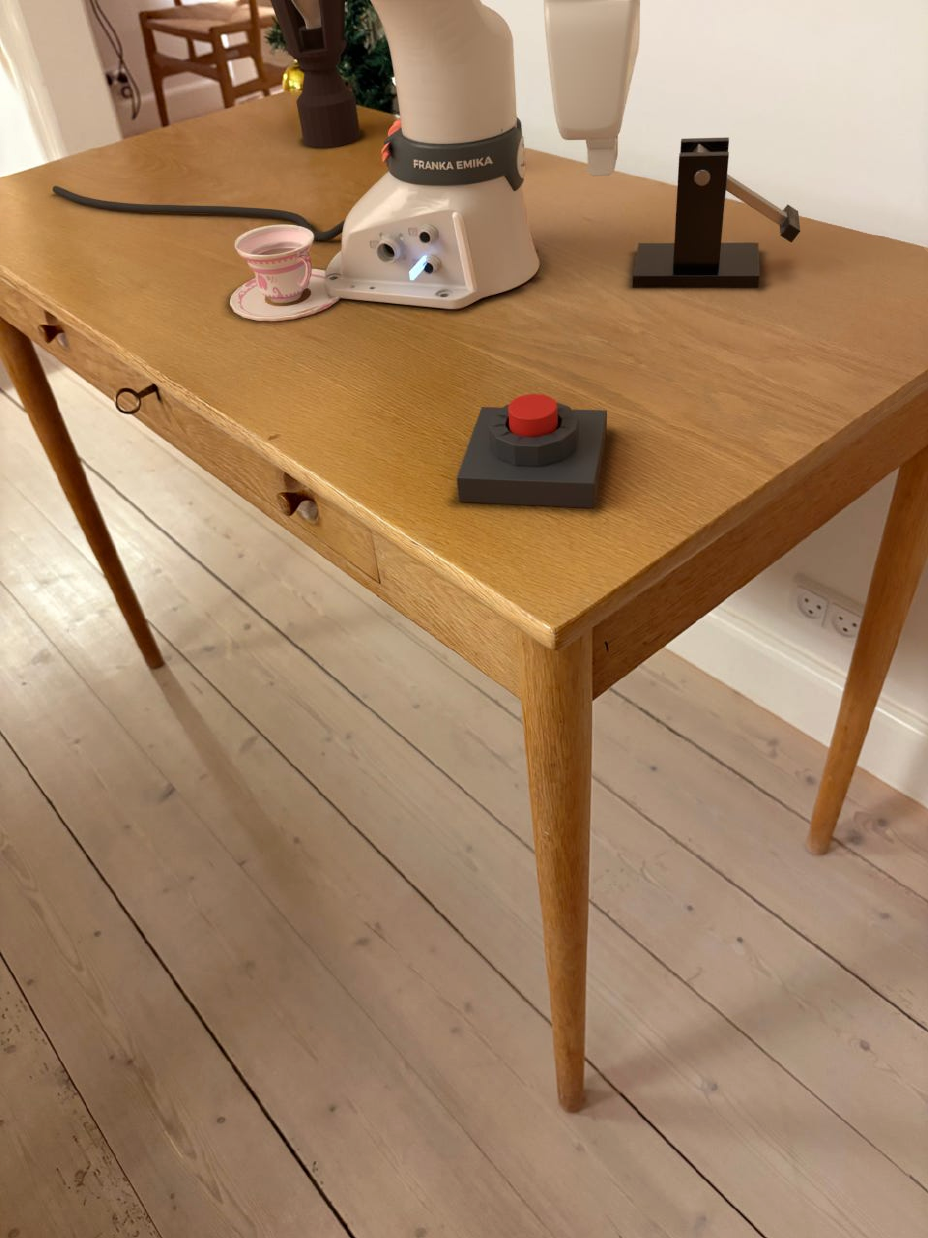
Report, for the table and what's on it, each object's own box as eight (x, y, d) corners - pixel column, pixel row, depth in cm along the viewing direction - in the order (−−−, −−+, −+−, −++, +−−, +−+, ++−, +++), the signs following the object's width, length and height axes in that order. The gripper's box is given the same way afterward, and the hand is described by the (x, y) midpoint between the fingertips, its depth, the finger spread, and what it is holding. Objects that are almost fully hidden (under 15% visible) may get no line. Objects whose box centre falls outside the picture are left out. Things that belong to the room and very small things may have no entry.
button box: (459, 502, 75) (454, 456, 72) (483, 430, 82) (479, 386, 79) (594, 508, 73) (594, 461, 70) (607, 434, 80) (607, 389, 77)
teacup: (207, 306, 105) (191, 248, 101) (292, 265, 111) (281, 208, 107) (283, 334, 99) (270, 273, 95) (369, 288, 105) (360, 229, 101)
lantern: (387, 147, 139) (352, -122, 119) (280, 161, 138) (227, -106, 118) (379, 116, 150) (346, -134, 130) (280, 129, 149) (231, -120, 129)
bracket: (757, 253, 103) (770, 130, 95) (758, 287, 97) (772, 159, 89) (637, 254, 105) (641, 134, 97) (632, 287, 99) (635, 162, 92)
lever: (785, 227, 99) (802, 206, 97) (787, 247, 95) (804, 226, 94) (683, 160, 97) (699, 138, 95) (681, 179, 93) (697, 155, 92)
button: (505, 438, 74) (504, 417, 73) (513, 413, 77) (512, 392, 76) (554, 440, 73) (553, 419, 72) (560, 414, 76) (560, 393, 75)
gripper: (567, -97, 68) (572, 123, 77) (525, -39, 53) (537, 225, 62) (663, -105, 67) (656, 120, 76) (647, -49, 52) (641, 223, 61)
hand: (602, 168), depth 69 cm, fingers closed
